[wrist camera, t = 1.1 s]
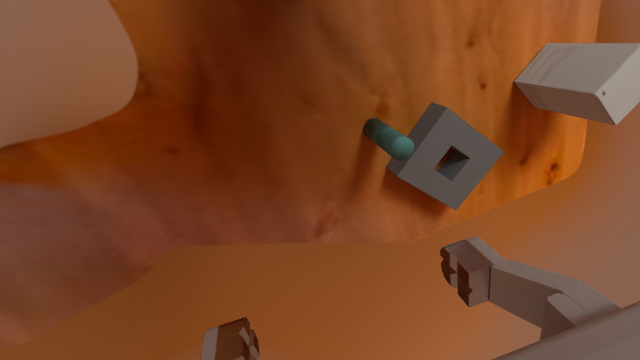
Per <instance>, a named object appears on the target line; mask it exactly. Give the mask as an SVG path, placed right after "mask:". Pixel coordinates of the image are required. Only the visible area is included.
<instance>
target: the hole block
mask: <svg viewBox="0 0 640 360" xmlns="http://www.w3.org/2000/svg"><path fill="white" fill-rule="evenodd" d="M408 138H409V139H411V140H412V141H413V143H414V151H413V153H412V155H411V156H410V157H409V158H408V159H406V160H403V161H398V160H396V159H394V158H392V159H391V160H390V162H389V163H388V165H387V166H386V167H387V168H388V169H390V170H391V171H392V172H393V173H394V174H395V175H396V176H397V177H399V178H401V179H402V180H404V181H406V182H408V183H409V184H411V185H413V186H415V187H416V188H418V189H420V190H421V191H423V192H425V193H427V194H428V195H430V196H432V197H434V198H435V199H437V200H439V201H440V202H442V203H444V204H446V205H447V206H449V207H451V208H453V209H454V210H457V208H458V207H459V206H460V205H461V204H462V202H463V201H464V200H465V199H466V197H467V196H468V195H469V194H470V193H471V191H472V190H473V189H474V188H475V187H476V185H477V184H478V183H479V182H480V181H481V179H482V178H483V177H484V176H485V174H486V173H487V172H488V171H489V170H490V168H491V167H492V166H493V165H494V164H495V162H496V161H497V160H498V159H499V158H500V156H501V155H502V154H503V153H504V152H503V151H502V150H501V149H500V148H498V147H497V146H496V145H495V144H493V143H492V142H491V141H489V140H488V139H487V138H486V137H484V136H483V135H482V134H480V133H479V132H478V131H477V130H475V129H474V128H473V127H471V126H470V125H469V124H468V123H466V122H465V121H464V120H462V119H461V118H460V117H459V116H457V115H456V114H455V113H453V112H452V111H451V110H450V109H448V108H447V107H444V106H441V105H438V104H435V103H431V104H430V106H429V107H428V109H427V110H426V111H425V113H424V114H423V116H422V117H421V118H420V120H419V121H418V123H417V124H416V125H415V127H414V128H413V130H412V131H411V132H410V134H409V135H408ZM450 147H451V148H453V149H454V151H453V153H452V154H451V155H450V157H449V158H448V159H447V161H446V162H445V163H444V164H443V166H442V167H441V168H440V170H439V171H436V170H435V169H434V168H435V167H436V165H437V164H438V163H439V161H440V160H441V159H442V157H443V156H444V155H445V154H446V152H447V151H448V150H449V148H450Z"/></svg>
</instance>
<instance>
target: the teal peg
mask: <svg viewBox="0 0 640 360" xmlns="http://www.w3.org/2000/svg"><path fill="white" fill-rule="evenodd" d="M363 131H364V134H365V135H366V136H367V137H368V138H370V139H371V140H372V141H373V142H375V143H376V144H377V145H378V146H379V147H381V148H382V149H383V150H384V151H386V152H387V153H388V154H389V155H391V156H392V157H393V158H394V159H396V160H398V161H403V160H406V159H408V158H409V157H410V156H411V155H412V153H413V151H414V143H413V141H412V140H411V139H409V138H408V137H406V136H404V135H403V134H401V133H399V132H398V131H396V130H394V129H393V128H391V127H390V126H388V125H386V124H385V123H383V122H381V121H380V120H378V119H375V118H372V119H369V120H368V121H367V122H366V123H365V125H364V128H363Z"/></svg>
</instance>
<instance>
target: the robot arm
mask: <svg viewBox="0 0 640 360" xmlns="http://www.w3.org/2000/svg"><path fill="white" fill-rule="evenodd" d="M440 255H441V256H442V258H443V261H442V263H441V269H442V272H443V274H444V277H445V279H446V280H447V282H448V283H449V284H450V285H451V286H453V287H455V288H457V289H458V295H459V296H460V297H461V298H462V300H463V301H464V302H465V303H466V304H467V306H468V307H471V306H474V305H477V304H480V303H483V302H486V301H489V302H491V303H493V304H495V305H497V306H499V307H501V308H503V309H505V310H507V311H508V312H510V313H512V314H514V315H516V316H518V317H520V318H522V319H524V320H526V321H528V322H530V323H532V324H534V325H536V326H537V327H540V328H541V329H542V331H541V336H540V341H538V342H535V343H533V344H530V345H528V346H525V347H523V348H520V349H517V350H515V351H512V352H510V353H507V354H505V355H502V356H500V357H497V358H495V359H492V360H640V301H639V302H636V303H634V304H631V305H628V306H626V307H624V308H619V307H618V306H617V305H615V304H614V303H612V302H611V301H610V300H608V299H607V298H606V297H604V296H603V295H601V294H600V293H599V292H597V291H596V290H594V289H593V288H592V287H590V286H589V285H587V284H586V283H584V282H582V281H579V280H576V279H572V278H569V277H566V276H563V275H559V274H556V273H553V272H549V271H546V270H543V269H540V268H536V267H533V266H530V265H526V264H523V263H520V262H517V261H513V260H506V259H504V258H503V257H502V256H501V255H500V254H498V253H497V252H496V251H495V250H493V249H492V248H491V247H490V246H488V244H486V243H485V242H484V241H483V240H482V239H480V238H479V237H477V236H473V237H470V238H467V239H465V240H462V241H459V242H456V243H453V244H451V245H448V246H445V247H442V248H441V250H440ZM258 358H259V345H258V340H257V337H256V334H255V332H254V330H252V329H250V323H249V321H248V319H247V318H246V317H245V318H241V319H239V320H235V321H232V322H229V323H226V324H223V325H220V326H217V327H214V328H211V329H208V330H206V332H205V334H204V340H203V346H202V353H201V359H200V360H258Z"/></svg>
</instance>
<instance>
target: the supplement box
mask: <svg viewBox="0 0 640 360" xmlns="http://www.w3.org/2000/svg"><path fill="white" fill-rule="evenodd" d="M514 83H515V84H516V85H517V87H518V88H519V89H520V90H521V92H522V93H523V94H524V95H525V97H526V98H527V99H528V100H529V101H530V103H531V104H532V105H533V106H534V107H535V108H540V109H544V110H549V111H553V112H558V113H562V114H567V115H571V116H575V117H580V118H584V119H589V120H594V121H598V122H603V123H607V124H611V125H617V124H618V123H619V122H620V121H621V120H622V119H623V118H624V117H625V116H626V115H627V114H628V113H629V112H630V111H631V110H632V109H633V108H634V107H635V106H636V105H637V104H638V103H639V102H640V43H617V44H616V43H547V44H546V45H545V46H544V47H543V49H542V50H541V51H540V52H539V53H538V54H537V56H536V57H535V58H534V59H533V60H532V61H531V62H530V64H529V65H528V66H527V67H526V68H525V69H524V71H523V72H522V73H521V74H520V75H519V76H518V77H517V79H516V80H515V81H514Z"/></svg>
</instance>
